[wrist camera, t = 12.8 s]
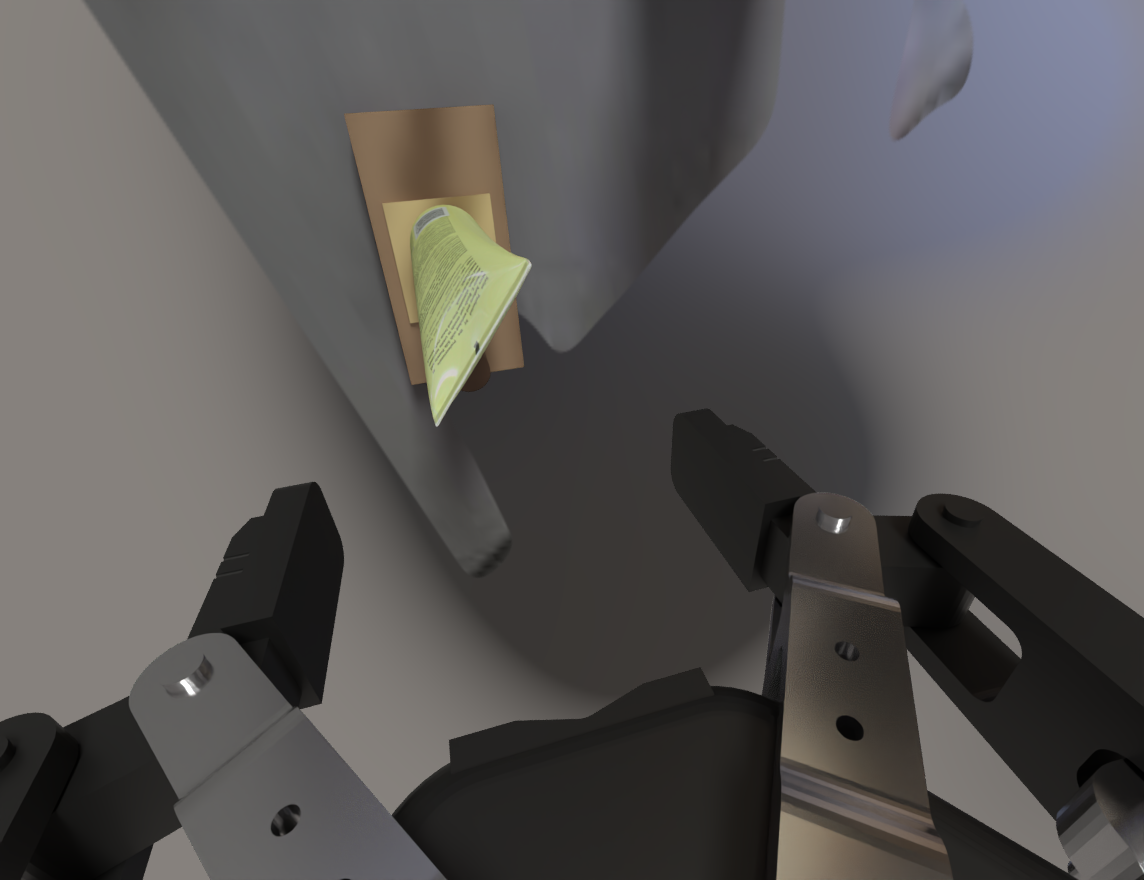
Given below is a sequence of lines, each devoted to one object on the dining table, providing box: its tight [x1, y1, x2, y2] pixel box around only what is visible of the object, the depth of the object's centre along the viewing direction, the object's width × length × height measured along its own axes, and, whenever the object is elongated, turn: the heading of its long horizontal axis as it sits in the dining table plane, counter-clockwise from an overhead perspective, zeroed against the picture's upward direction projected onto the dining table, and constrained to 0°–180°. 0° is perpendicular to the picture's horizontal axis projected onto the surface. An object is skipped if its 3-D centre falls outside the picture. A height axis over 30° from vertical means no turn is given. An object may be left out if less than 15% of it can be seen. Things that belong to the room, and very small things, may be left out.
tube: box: [410, 205, 531, 427], centre depth 27 cm, size 6×5×20 cm
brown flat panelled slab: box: [344, 105, 524, 392], centre depth 36 cm, size 9×18×7 cm, turn 4°
